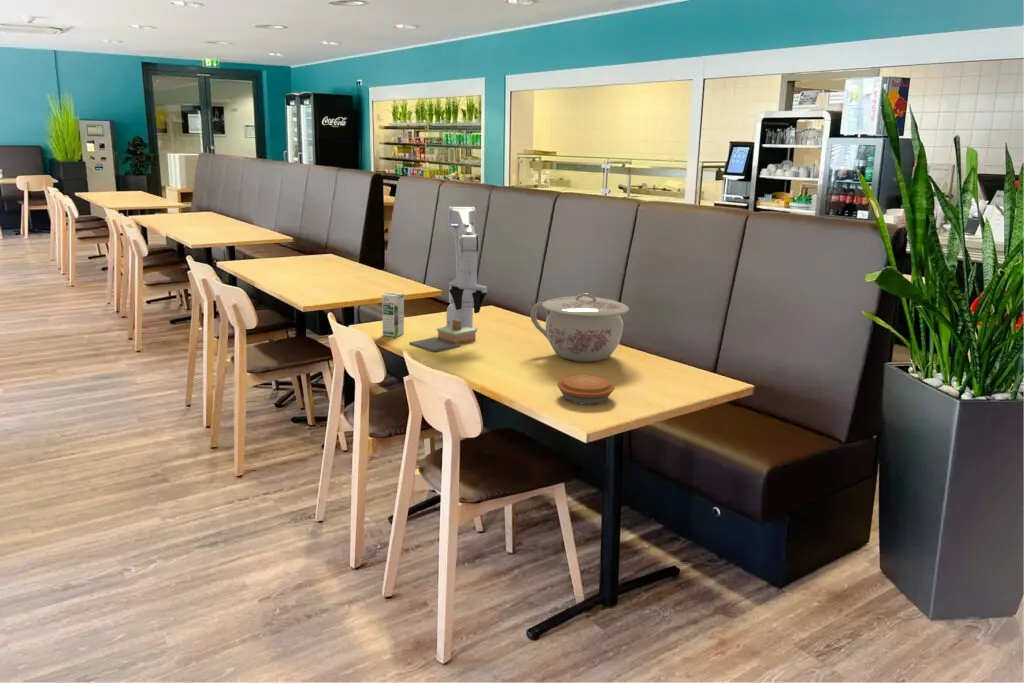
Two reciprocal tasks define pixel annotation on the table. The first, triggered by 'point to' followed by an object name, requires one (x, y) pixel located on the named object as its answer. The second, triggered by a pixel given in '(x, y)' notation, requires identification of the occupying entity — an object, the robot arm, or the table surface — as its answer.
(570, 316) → the chamber pot
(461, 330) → the lid
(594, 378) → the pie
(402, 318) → the syrup box
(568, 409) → the table surface
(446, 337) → the dish
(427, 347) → the mat
